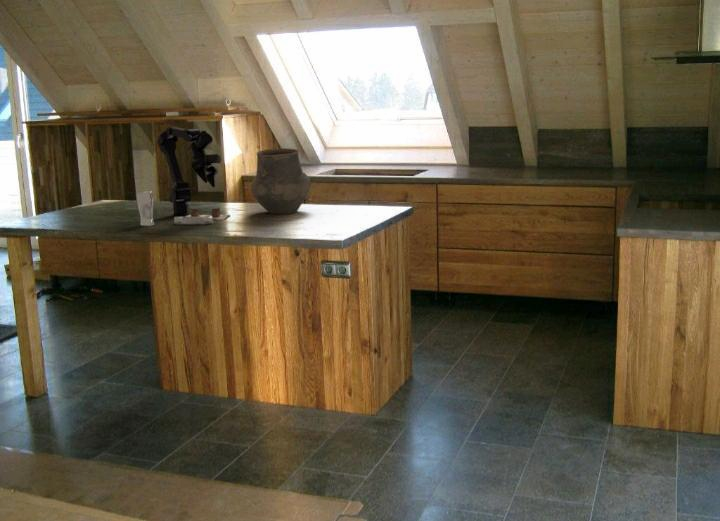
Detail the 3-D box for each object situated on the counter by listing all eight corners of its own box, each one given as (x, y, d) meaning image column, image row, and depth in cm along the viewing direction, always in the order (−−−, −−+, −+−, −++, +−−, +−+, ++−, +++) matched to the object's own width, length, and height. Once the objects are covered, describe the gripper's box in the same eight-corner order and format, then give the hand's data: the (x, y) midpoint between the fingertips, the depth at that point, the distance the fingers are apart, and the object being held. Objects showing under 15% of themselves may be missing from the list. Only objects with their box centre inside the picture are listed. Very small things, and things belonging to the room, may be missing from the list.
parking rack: (181, 220, 383) (180, 210, 382) (189, 217, 394) (188, 206, 393) (222, 220, 380) (222, 209, 379) (230, 216, 390) (229, 206, 389)
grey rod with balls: (173, 224, 374) (172, 217, 373) (176, 223, 378) (176, 216, 377) (211, 224, 371) (211, 217, 370) (214, 222, 375) (214, 216, 374)
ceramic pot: (315, 207, 411) (313, 146, 405) (306, 216, 384) (303, 151, 377) (259, 208, 414) (256, 148, 408) (246, 217, 387) (242, 153, 380)
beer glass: (136, 225, 375) (133, 192, 372) (150, 223, 380) (148, 190, 376) (143, 226, 370) (140, 193, 367) (157, 224, 374) (155, 191, 371)
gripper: (207, 141, 370) (218, 173, 367) (222, 152, 388) (233, 182, 385) (185, 151, 371) (196, 183, 369) (201, 161, 390) (211, 191, 387)
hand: (210, 184), depth 377 cm, fingers open, 9 cm apart
